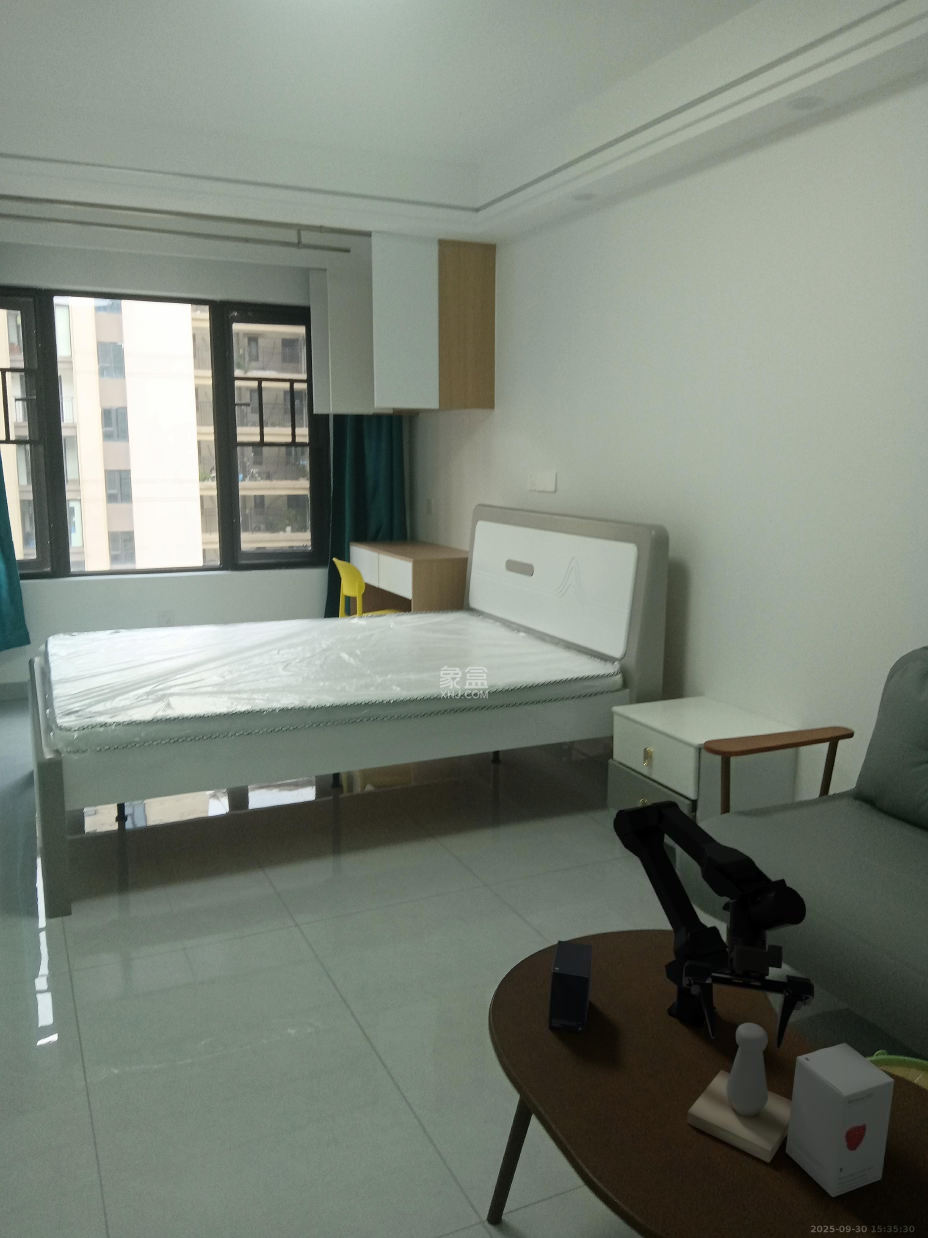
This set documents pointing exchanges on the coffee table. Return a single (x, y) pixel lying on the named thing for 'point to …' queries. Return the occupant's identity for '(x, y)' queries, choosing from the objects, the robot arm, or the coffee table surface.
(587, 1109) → the coffee table surface
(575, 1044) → the coffee table surface
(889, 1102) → the supplement box
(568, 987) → the small box
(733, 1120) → the oak block
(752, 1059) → the salt shaker
